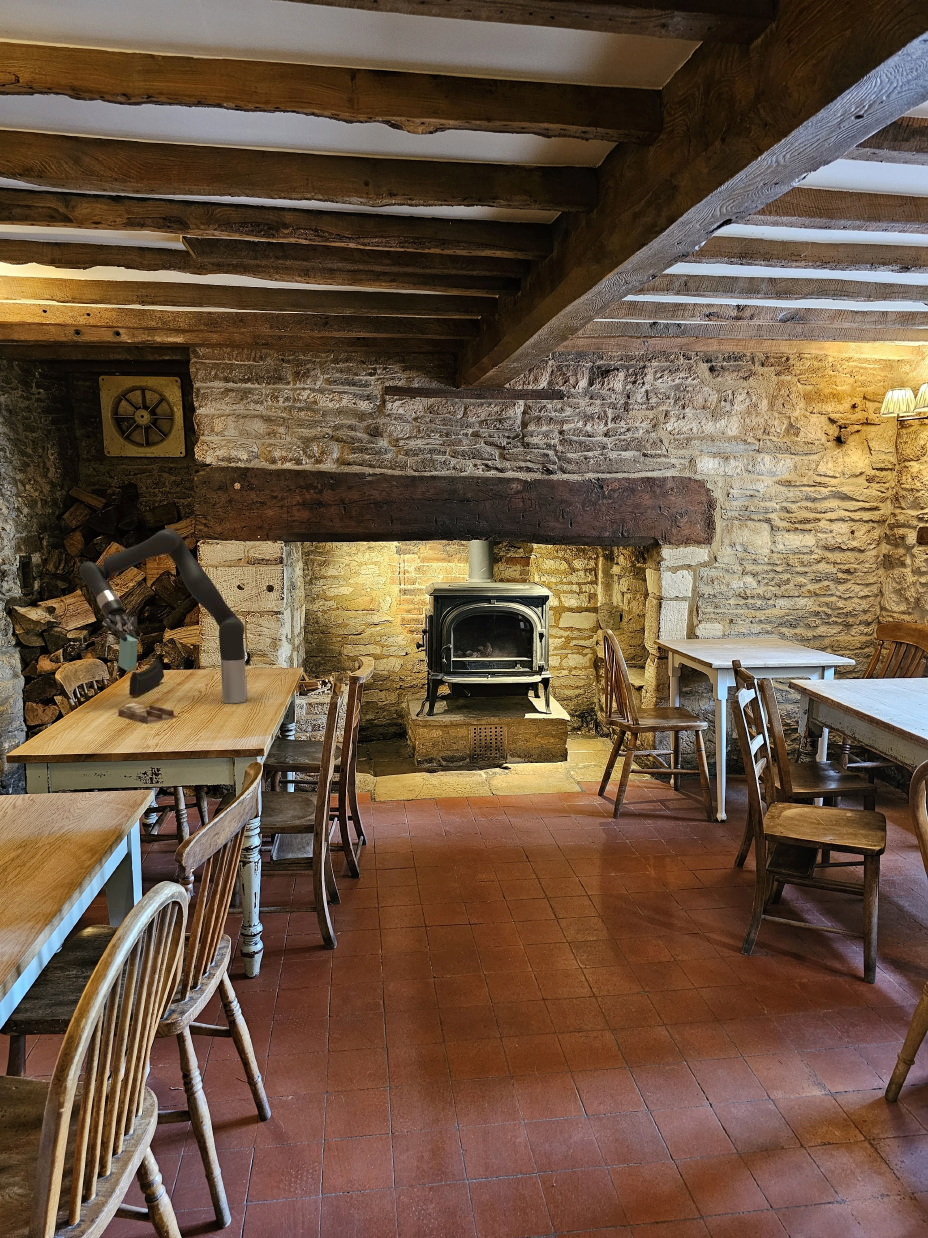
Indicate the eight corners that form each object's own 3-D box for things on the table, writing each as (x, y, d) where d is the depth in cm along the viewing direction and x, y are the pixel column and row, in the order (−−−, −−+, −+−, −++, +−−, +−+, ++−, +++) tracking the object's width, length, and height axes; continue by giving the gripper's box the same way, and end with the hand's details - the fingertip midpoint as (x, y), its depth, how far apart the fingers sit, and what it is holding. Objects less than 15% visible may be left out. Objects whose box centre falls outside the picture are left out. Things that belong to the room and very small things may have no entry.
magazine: (133, 678, 325) (159, 644, 352) (125, 678, 325) (151, 644, 352) (140, 714, 332) (165, 679, 359) (132, 714, 332) (157, 679, 359)
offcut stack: (124, 716, 294) (123, 705, 293) (134, 714, 297) (134, 703, 296) (136, 719, 289) (136, 708, 288) (147, 717, 292) (146, 706, 291)
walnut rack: (116, 719, 295) (116, 708, 295) (149, 712, 305) (148, 702, 305) (147, 728, 283) (147, 717, 283) (180, 720, 294) (180, 710, 293)
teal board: (118, 665, 306) (120, 635, 303) (125, 664, 308) (127, 634, 305) (128, 671, 302) (130, 641, 299) (135, 670, 304) (137, 640, 301)
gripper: (96, 600, 300) (116, 635, 294) (131, 596, 311) (151, 631, 305) (89, 613, 303) (109, 648, 298) (124, 609, 315) (143, 643, 309)
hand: (130, 639), depth 302 cm, fingers closed on teal board, 3 cm apart
